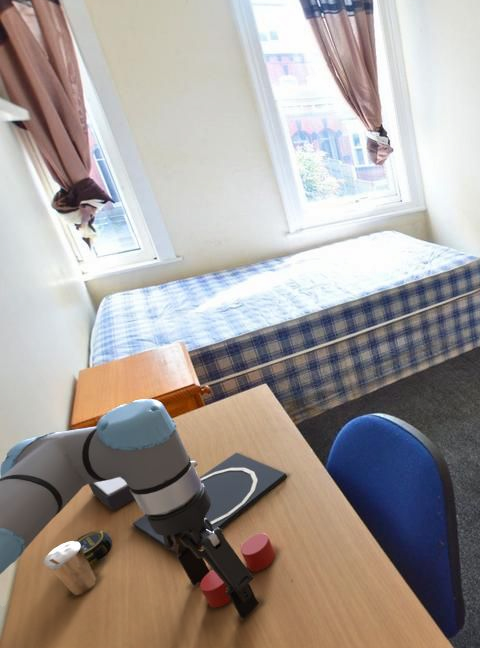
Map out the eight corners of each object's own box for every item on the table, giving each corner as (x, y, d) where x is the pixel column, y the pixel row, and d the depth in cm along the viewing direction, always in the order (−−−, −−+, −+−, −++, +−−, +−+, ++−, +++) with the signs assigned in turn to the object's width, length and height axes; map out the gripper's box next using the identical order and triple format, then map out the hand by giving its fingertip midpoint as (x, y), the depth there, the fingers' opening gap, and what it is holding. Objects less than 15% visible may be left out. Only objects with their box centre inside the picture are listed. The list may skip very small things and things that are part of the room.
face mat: (183, 559, 85) (181, 555, 84) (134, 526, 93) (132, 522, 93) (287, 476, 102) (285, 472, 101) (237, 455, 110) (236, 452, 110)
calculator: (183, 453, 107) (105, 495, 96) (189, 468, 109) (113, 511, 97) (162, 439, 113) (85, 478, 101) (167, 454, 115) (92, 493, 103)
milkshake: (62, 608, 78) (32, 566, 74) (72, 582, 82) (44, 542, 78) (96, 594, 80) (68, 553, 76) (104, 570, 84) (78, 529, 80)
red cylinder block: (218, 612, 74) (209, 595, 73) (203, 601, 76) (194, 584, 75) (244, 588, 78) (236, 571, 76) (228, 578, 80) (220, 562, 78)
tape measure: (65, 563, 86) (55, 548, 85) (110, 536, 91) (101, 522, 90) (74, 581, 82) (64, 567, 81) (120, 553, 87) (111, 538, 86)
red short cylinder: (258, 575, 80) (250, 558, 78) (242, 565, 82) (235, 549, 80) (280, 554, 83) (273, 538, 82) (264, 545, 86) (258, 529, 84)
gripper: (248, 503, 66) (292, 603, 74) (157, 458, 78) (204, 549, 86) (195, 546, 60) (249, 649, 68) (105, 490, 72) (161, 584, 80)
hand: (224, 593), depth 77 cm, fingers open, 13 cm apart
